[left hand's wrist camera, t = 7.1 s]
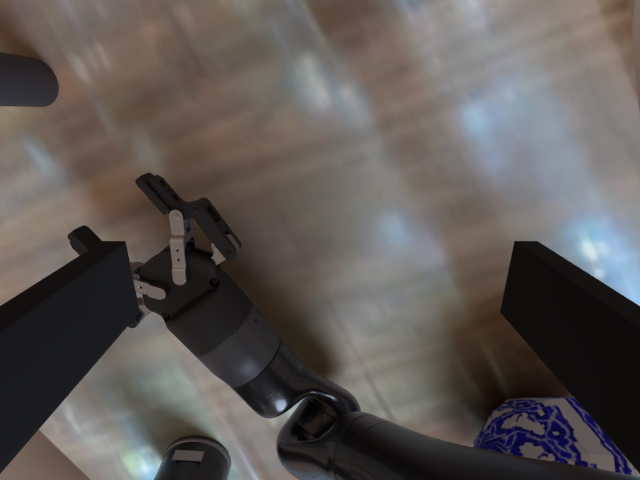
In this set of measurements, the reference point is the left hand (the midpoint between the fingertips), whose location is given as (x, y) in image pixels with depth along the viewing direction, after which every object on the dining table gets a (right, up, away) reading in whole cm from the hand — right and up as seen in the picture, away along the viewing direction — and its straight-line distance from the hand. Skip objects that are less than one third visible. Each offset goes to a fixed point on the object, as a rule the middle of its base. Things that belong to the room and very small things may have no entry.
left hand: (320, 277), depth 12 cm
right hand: (-19, +5, +20) cm, 28 cm away
